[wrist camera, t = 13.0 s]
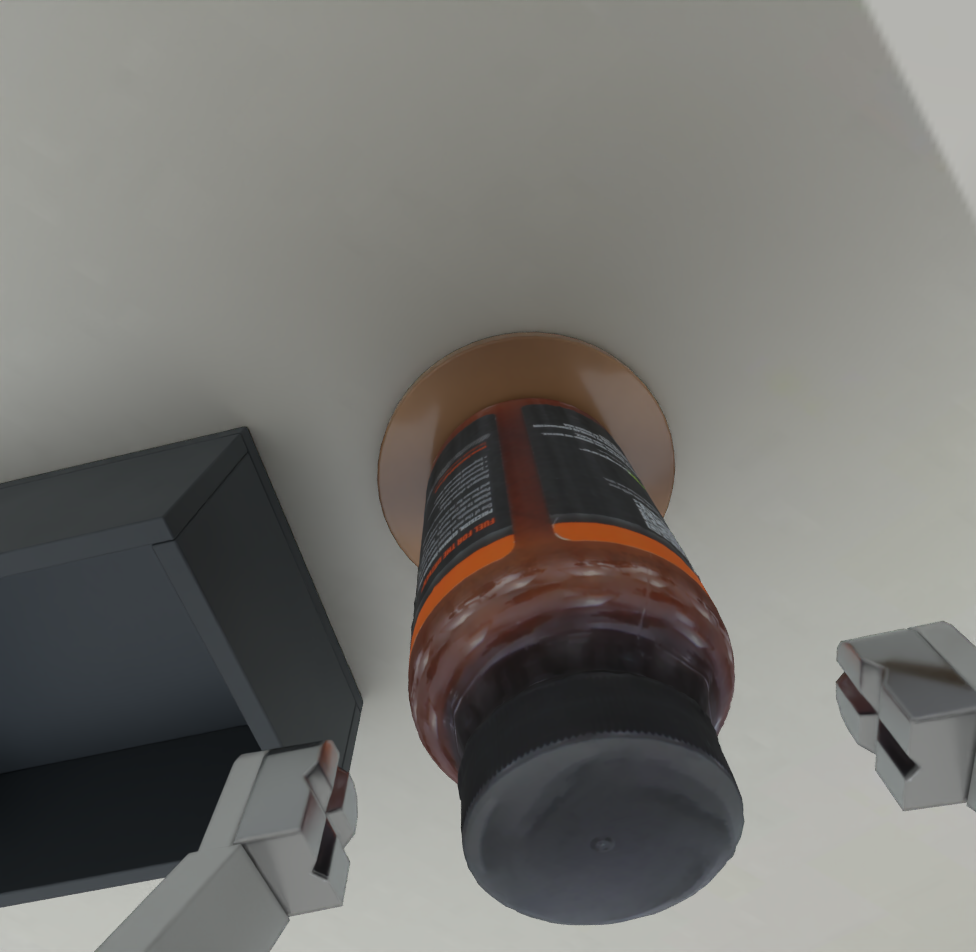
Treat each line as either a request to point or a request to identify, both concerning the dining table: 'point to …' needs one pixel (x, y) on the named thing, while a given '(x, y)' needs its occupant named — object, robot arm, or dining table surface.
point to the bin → (149, 659)
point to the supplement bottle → (569, 673)
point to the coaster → (508, 376)
